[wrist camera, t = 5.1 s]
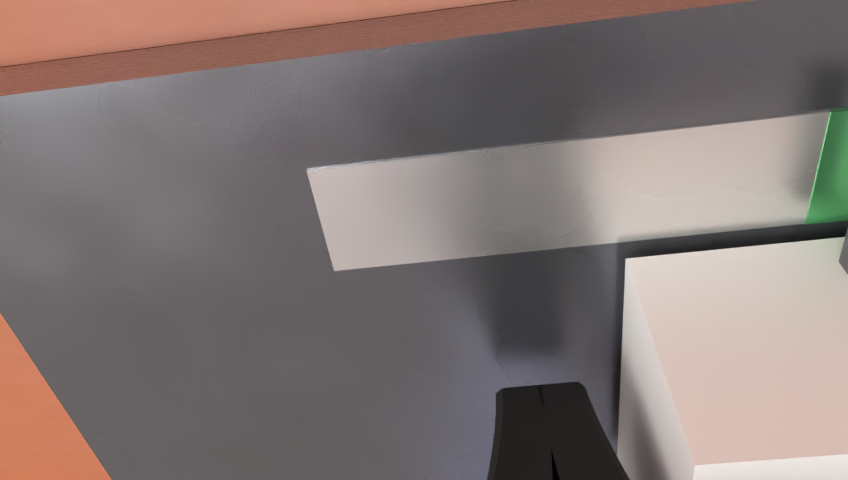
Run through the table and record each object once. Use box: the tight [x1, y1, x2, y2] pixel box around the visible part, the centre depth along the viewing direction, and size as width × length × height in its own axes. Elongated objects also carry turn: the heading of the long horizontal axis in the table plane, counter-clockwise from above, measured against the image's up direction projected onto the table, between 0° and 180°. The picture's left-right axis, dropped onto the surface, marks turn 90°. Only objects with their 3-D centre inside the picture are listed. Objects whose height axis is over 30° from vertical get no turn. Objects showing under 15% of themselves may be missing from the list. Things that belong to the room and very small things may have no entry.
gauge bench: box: [0, 0, 848, 480], centre depth 11 cm, size 12×23×5 cm, turn 98°
